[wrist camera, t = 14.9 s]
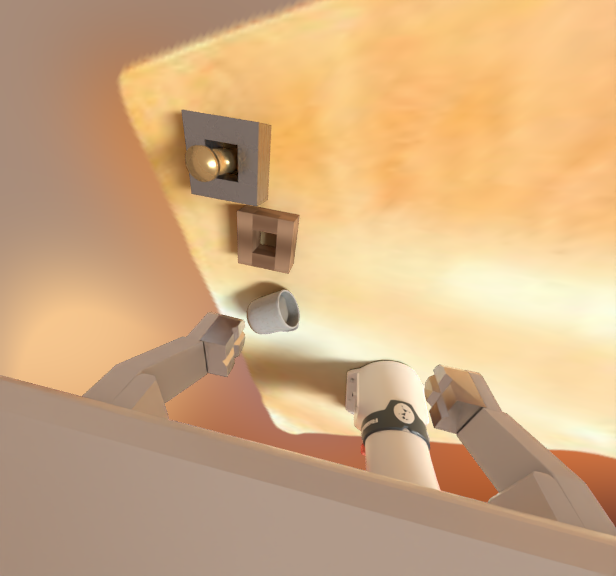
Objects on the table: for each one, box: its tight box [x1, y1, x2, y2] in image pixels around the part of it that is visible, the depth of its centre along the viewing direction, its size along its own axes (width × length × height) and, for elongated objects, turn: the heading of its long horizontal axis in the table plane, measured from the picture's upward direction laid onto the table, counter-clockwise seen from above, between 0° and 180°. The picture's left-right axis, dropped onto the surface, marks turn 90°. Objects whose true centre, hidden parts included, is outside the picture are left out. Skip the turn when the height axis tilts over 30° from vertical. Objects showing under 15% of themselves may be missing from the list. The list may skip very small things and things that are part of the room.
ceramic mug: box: [247, 290, 300, 334], centre depth 46 cm, size 11×8×8 cm
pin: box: [185, 145, 238, 182], centre depth 31 cm, size 4×4×10 cm
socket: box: [182, 110, 271, 206], centre depth 34 cm, size 10×10×5 cm
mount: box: [237, 205, 299, 274], centre depth 39 cm, size 9×9×4 cm
